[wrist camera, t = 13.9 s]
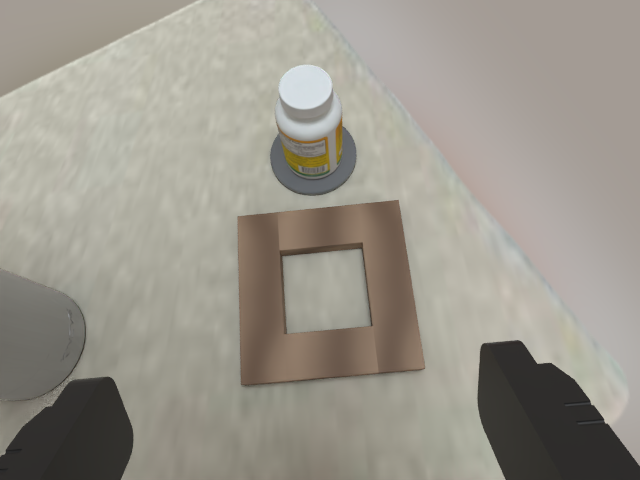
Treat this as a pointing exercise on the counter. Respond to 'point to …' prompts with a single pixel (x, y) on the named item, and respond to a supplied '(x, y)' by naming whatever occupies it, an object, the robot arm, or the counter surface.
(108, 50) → the counter surface
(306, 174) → the supplement bottle
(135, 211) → the counter surface
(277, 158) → the coaster
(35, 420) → the robot arm
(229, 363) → the counter surface
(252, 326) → the pocket board
